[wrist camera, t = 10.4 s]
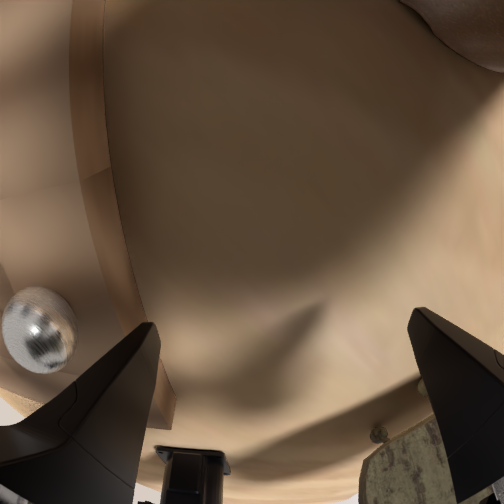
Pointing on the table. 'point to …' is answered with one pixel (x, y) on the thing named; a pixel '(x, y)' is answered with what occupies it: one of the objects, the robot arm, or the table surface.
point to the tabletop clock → (410, 467)
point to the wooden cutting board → (63, 190)
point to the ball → (40, 330)
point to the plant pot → (467, 28)
